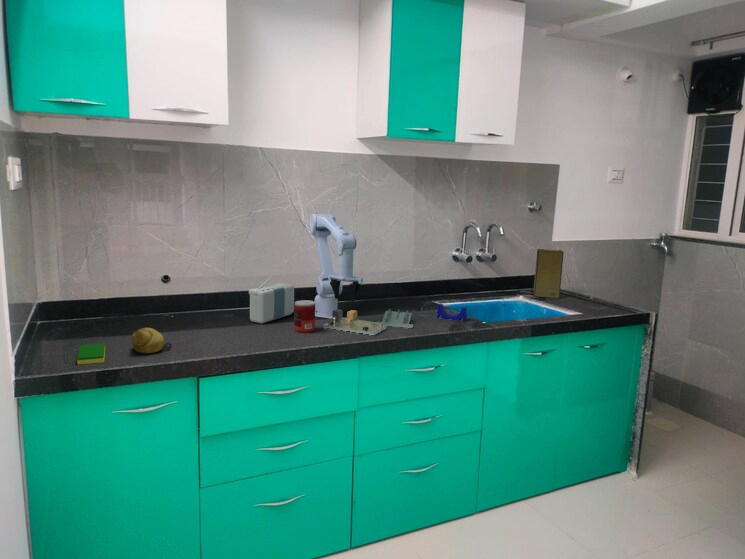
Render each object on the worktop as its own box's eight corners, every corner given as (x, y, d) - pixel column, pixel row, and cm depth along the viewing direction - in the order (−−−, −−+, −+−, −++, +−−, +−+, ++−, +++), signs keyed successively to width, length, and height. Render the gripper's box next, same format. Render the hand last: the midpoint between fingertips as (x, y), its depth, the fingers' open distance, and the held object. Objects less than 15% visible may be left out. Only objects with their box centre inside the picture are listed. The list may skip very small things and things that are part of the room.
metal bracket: (381, 305, 234) (416, 308, 231) (381, 317, 237) (416, 320, 234) (374, 322, 222) (412, 326, 219) (375, 335, 224) (411, 338, 221)
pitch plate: (322, 327, 216) (322, 314, 215) (336, 321, 227) (337, 308, 226) (374, 335, 208) (374, 321, 207) (386, 328, 219) (387, 315, 218)
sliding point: (345, 323, 218) (346, 312, 217) (351, 320, 223) (351, 310, 222) (351, 324, 217) (351, 313, 217) (356, 321, 222) (357, 310, 221)
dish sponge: (77, 366, 164) (77, 358, 164) (80, 352, 177) (80, 345, 176) (104, 363, 167) (103, 356, 167) (105, 350, 180) (105, 343, 179)
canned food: (318, 329, 214) (318, 301, 212) (309, 334, 207) (309, 305, 205) (300, 326, 216) (300, 299, 215) (290, 331, 209) (291, 303, 207)
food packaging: (558, 295, 302) (562, 249, 298) (559, 298, 293) (564, 251, 289) (532, 293, 305) (536, 248, 301) (533, 296, 296) (537, 250, 292)
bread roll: (130, 345, 185) (129, 322, 183) (161, 342, 189) (161, 320, 188) (133, 356, 173) (132, 332, 172) (166, 353, 178) (165, 329, 176)
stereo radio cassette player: (263, 325, 217) (263, 274, 213) (246, 322, 221) (246, 272, 217) (294, 315, 235) (295, 268, 232) (279, 312, 239) (279, 266, 235)
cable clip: (466, 319, 240) (467, 306, 239) (464, 322, 235) (465, 308, 234) (439, 316, 244) (440, 303, 243) (436, 318, 240) (437, 305, 239)
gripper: (324, 265, 217) (323, 299, 219) (358, 268, 211) (357, 303, 214) (333, 263, 223) (332, 296, 226) (365, 266, 218) (364, 300, 220)
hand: (344, 299), depth 220 cm, fingers open, 6 cm apart
